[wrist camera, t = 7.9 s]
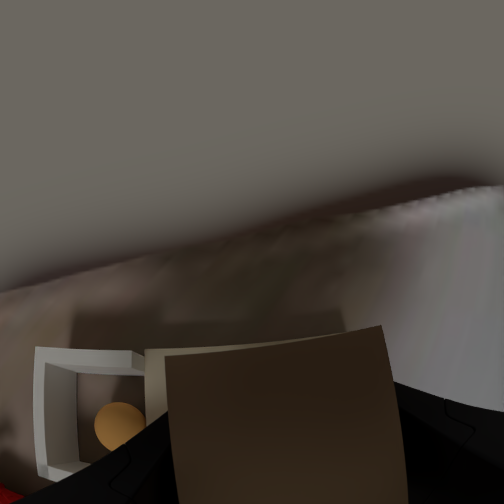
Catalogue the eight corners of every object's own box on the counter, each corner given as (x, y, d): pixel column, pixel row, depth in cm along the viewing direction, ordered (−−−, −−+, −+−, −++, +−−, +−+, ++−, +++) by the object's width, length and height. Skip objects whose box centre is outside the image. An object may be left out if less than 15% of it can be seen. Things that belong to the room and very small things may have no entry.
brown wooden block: (328, 453, 13) (408, 518, 4) (244, 465, 13) (189, 550, 4) (316, 377, 15) (381, 324, 6) (234, 388, 15) (164, 356, 6)
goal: (155, 361, 19) (131, 350, 16) (162, 486, 15) (140, 501, 11) (67, 358, 19) (35, 346, 16) (70, 470, 15) (38, 475, 11)
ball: (84, 439, 15) (128, 440, 17) (107, 464, 12) (156, 461, 15) (89, 392, 16) (134, 397, 18) (112, 412, 13) (163, 414, 16)
